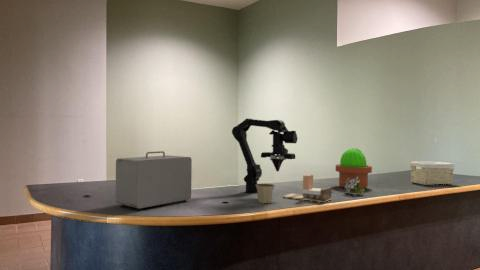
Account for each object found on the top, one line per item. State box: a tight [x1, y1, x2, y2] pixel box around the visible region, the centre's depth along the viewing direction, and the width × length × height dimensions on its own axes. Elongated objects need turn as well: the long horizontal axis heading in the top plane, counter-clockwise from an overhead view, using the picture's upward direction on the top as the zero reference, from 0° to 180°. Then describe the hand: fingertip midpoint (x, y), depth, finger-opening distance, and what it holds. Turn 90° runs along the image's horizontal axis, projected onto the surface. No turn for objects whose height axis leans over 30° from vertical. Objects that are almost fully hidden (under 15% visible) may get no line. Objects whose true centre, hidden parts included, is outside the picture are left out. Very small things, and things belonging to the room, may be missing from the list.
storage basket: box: [409, 161, 455, 186], centre depth 257 cm, size 24×16×15 cm
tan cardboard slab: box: [282, 186, 333, 203], centre depth 195 cm, size 23×10×6 cm, turn 56°
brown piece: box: [301, 174, 322, 199], centre depth 192 cm, size 10×8×11 cm
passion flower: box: [344, 177, 368, 196], centre depth 211 cm, size 11×11×12 cm
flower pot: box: [256, 183, 276, 204], centre depth 184 cm, size 9×9×9 cm
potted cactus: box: [335, 148, 373, 190], centre depth 237 cm, size 22×22×25 cm
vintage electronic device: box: [115, 150, 193, 212], centre depth 178 cm, size 32×18×25 cm, turn 141°
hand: (277, 171), depth 205 cm, fingers closed
